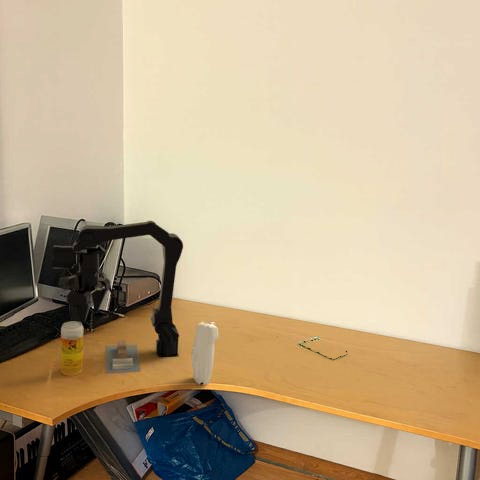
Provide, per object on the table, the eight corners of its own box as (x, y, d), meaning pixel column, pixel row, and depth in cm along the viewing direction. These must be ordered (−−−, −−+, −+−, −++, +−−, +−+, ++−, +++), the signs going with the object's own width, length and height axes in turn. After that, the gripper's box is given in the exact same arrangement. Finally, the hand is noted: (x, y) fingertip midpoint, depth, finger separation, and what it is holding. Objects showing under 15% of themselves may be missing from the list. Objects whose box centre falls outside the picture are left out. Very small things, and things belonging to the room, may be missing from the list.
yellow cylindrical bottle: (62, 379, 141) (62, 329, 139) (59, 370, 147) (59, 322, 144) (84, 376, 144) (85, 327, 141) (80, 367, 149) (81, 319, 147)
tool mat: (136, 346, 167) (136, 344, 167) (140, 373, 148) (140, 371, 148) (105, 347, 165) (105, 346, 164) (105, 375, 146) (105, 373, 145)
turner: (112, 348, 163) (112, 341, 162) (130, 348, 164) (131, 340, 164) (112, 369, 148) (112, 361, 148) (133, 368, 150) (133, 360, 149)
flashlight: (216, 377, 149) (191, 375, 149) (220, 320, 146) (195, 318, 146) (214, 388, 143) (188, 385, 143) (218, 328, 139) (192, 326, 139)
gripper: (77, 258, 160) (78, 305, 163) (48, 273, 142) (49, 325, 145) (110, 261, 159) (111, 308, 162) (85, 276, 141) (86, 328, 144)
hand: (89, 316), depth 153 cm, fingers open, 9 cm apart
